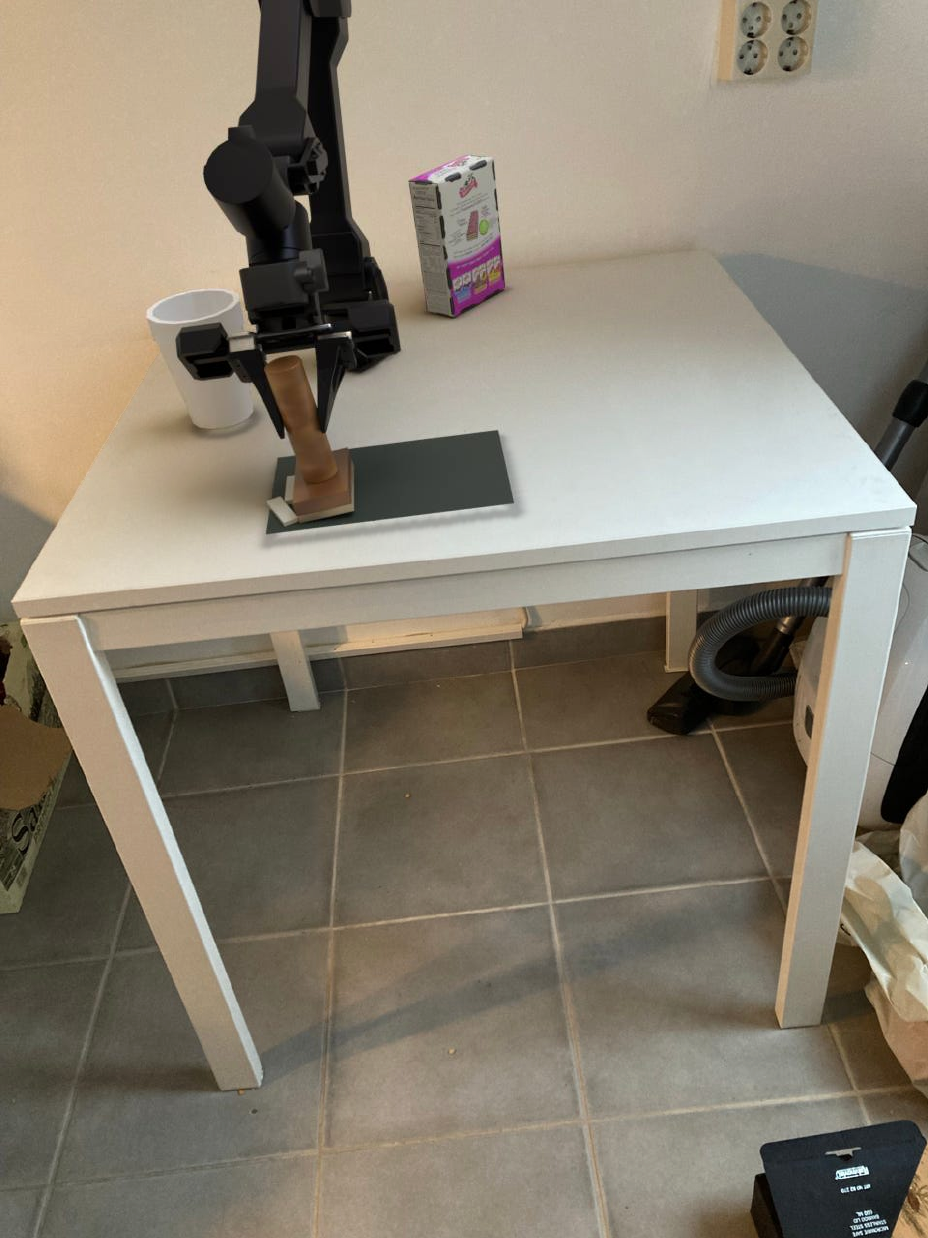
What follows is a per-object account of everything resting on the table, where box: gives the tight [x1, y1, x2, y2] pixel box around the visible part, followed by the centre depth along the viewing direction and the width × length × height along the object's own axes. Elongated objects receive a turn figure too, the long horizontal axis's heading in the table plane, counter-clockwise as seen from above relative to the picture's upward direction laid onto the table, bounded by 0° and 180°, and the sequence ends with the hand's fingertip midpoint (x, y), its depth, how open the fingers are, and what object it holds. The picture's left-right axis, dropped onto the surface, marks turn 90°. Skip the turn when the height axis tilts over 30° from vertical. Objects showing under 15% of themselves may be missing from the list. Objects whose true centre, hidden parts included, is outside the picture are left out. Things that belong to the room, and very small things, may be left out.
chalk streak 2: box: [285, 475, 295, 505], centre depth 91 cm, size 1×4×1 cm, turn 5°
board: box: [265, 429, 515, 535], centre depth 92 cm, size 22×14×1 cm, turn 94°
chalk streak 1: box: [266, 497, 299, 527], centre depth 88 cm, size 1×4×1 cm, turn 29°
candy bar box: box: [407, 154, 506, 318], centre depth 123 cm, size 11×5×16 cm, turn 141°
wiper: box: [264, 354, 354, 523], centre depth 86 cm, size 5×8×13 cm, turn 5°
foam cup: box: [146, 287, 254, 430], centre depth 103 cm, size 10×9×13 cm
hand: (302, 434), depth 84 cm, fingers closed on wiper, 3 cm apart
